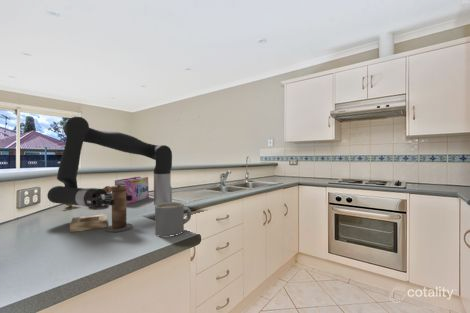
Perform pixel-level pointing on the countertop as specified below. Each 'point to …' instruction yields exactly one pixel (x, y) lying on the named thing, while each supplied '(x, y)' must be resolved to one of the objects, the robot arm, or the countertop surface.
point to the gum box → (135, 188)
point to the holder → (88, 222)
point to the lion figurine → (107, 189)
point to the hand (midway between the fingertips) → (123, 200)
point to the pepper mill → (119, 206)
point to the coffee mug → (170, 218)
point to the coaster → (110, 229)
